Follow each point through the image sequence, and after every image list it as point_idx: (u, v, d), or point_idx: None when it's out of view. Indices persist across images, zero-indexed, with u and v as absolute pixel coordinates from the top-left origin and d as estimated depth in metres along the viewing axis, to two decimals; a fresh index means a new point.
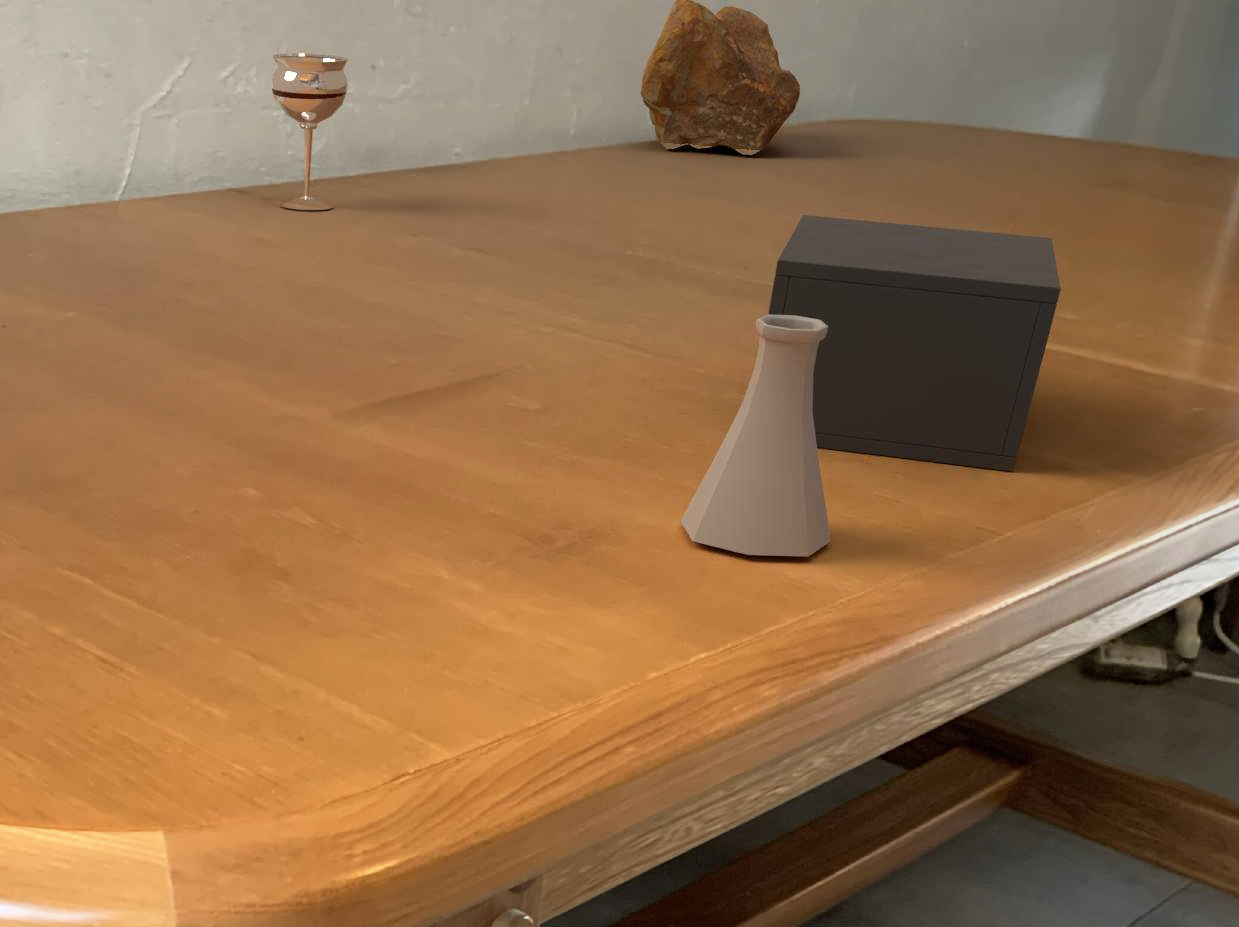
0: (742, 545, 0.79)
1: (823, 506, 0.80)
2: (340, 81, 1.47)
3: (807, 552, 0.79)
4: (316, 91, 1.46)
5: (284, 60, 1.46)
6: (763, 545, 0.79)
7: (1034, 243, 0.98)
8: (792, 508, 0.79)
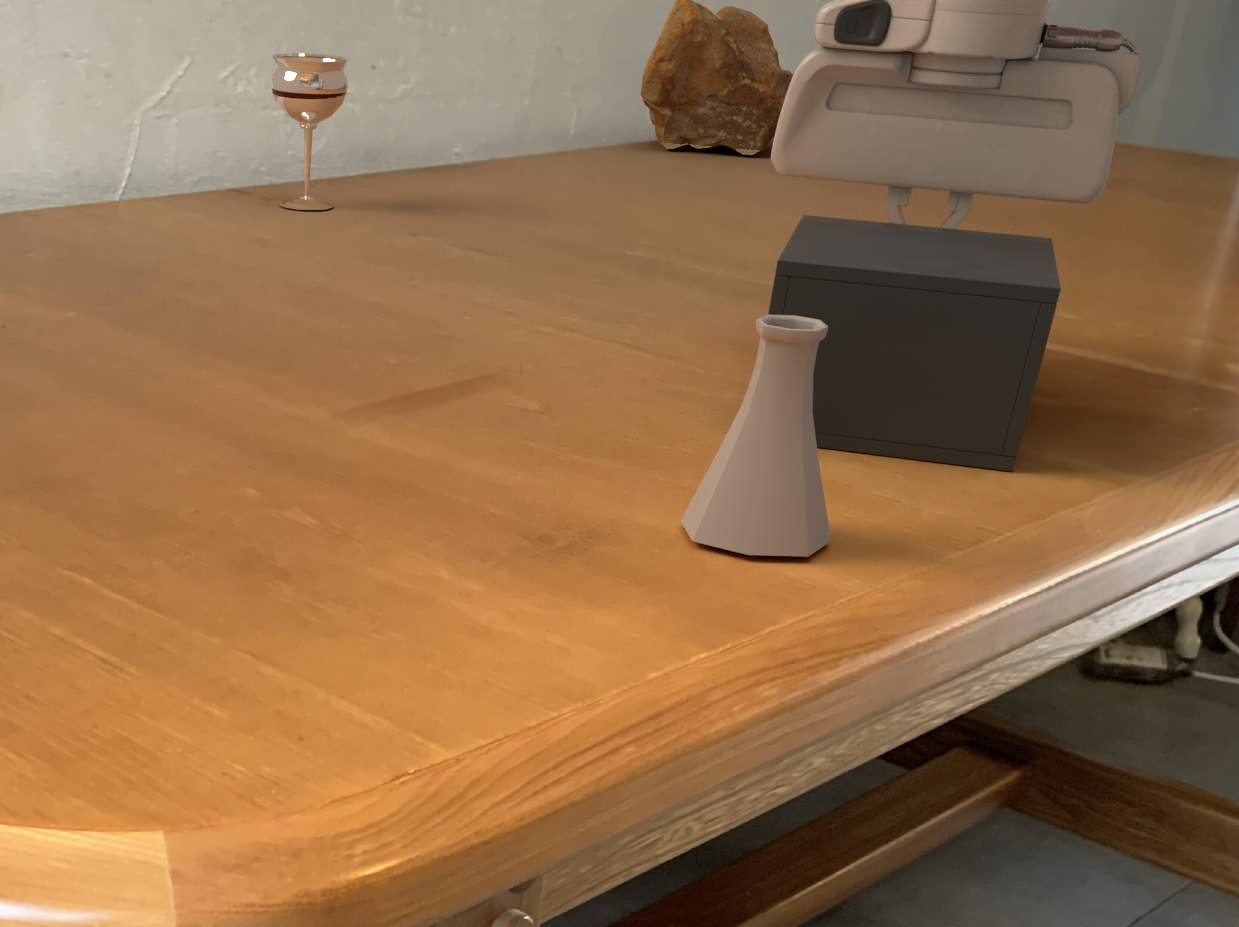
0: (742, 545, 0.79)
1: (823, 506, 0.80)
2: (340, 81, 1.47)
3: (807, 552, 0.79)
4: (316, 91, 1.46)
5: (284, 60, 1.46)
6: (763, 545, 0.79)
7: (1034, 243, 0.98)
8: (792, 508, 0.79)
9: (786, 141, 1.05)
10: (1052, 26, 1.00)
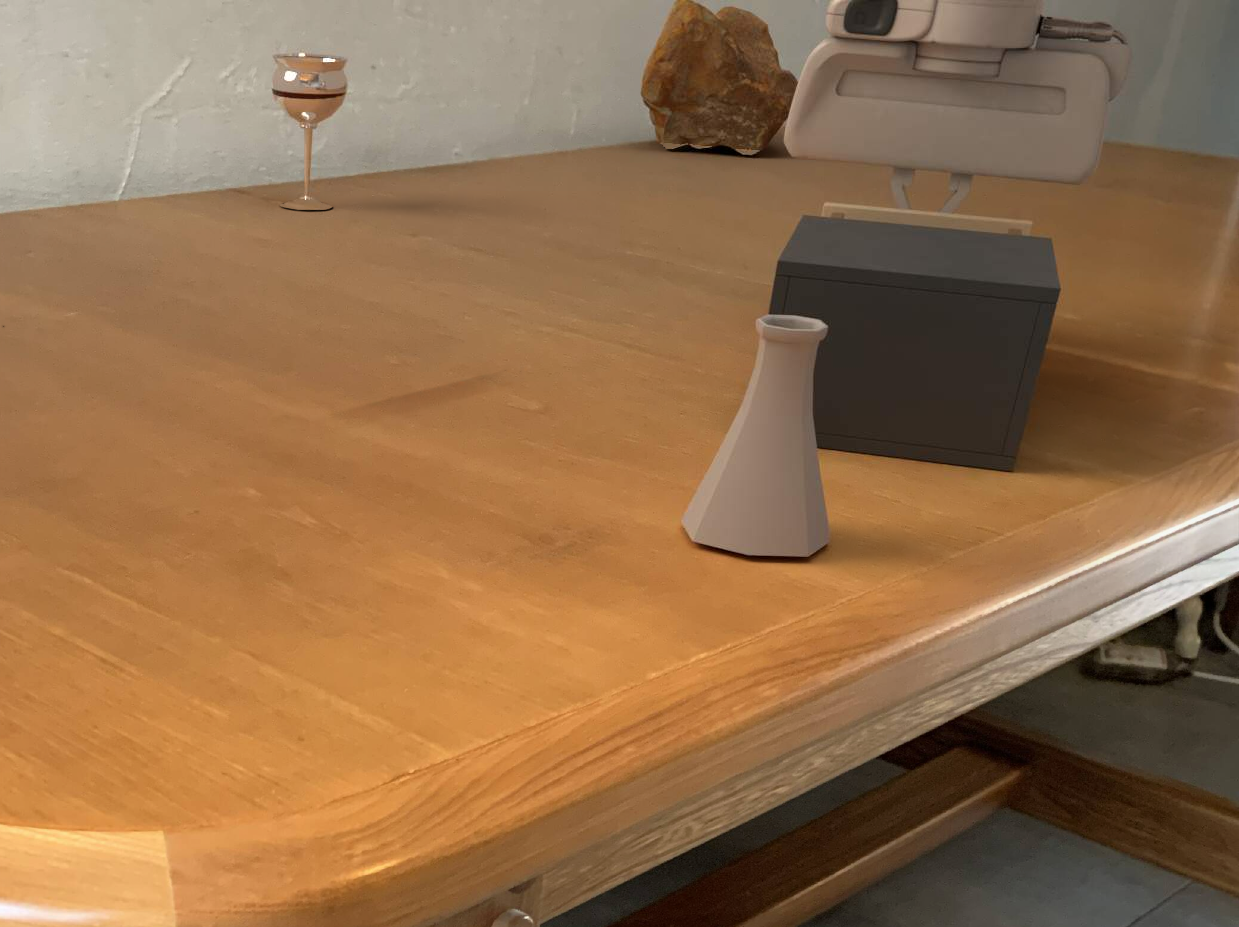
0: (742, 545, 0.79)
1: (823, 506, 0.80)
2: (340, 81, 1.47)
3: (807, 552, 0.79)
4: (316, 91, 1.46)
5: (284, 60, 1.46)
6: (763, 545, 0.79)
7: (1034, 243, 0.98)
8: (792, 508, 0.79)
9: (798, 125, 1.12)
10: (1048, 18, 1.07)
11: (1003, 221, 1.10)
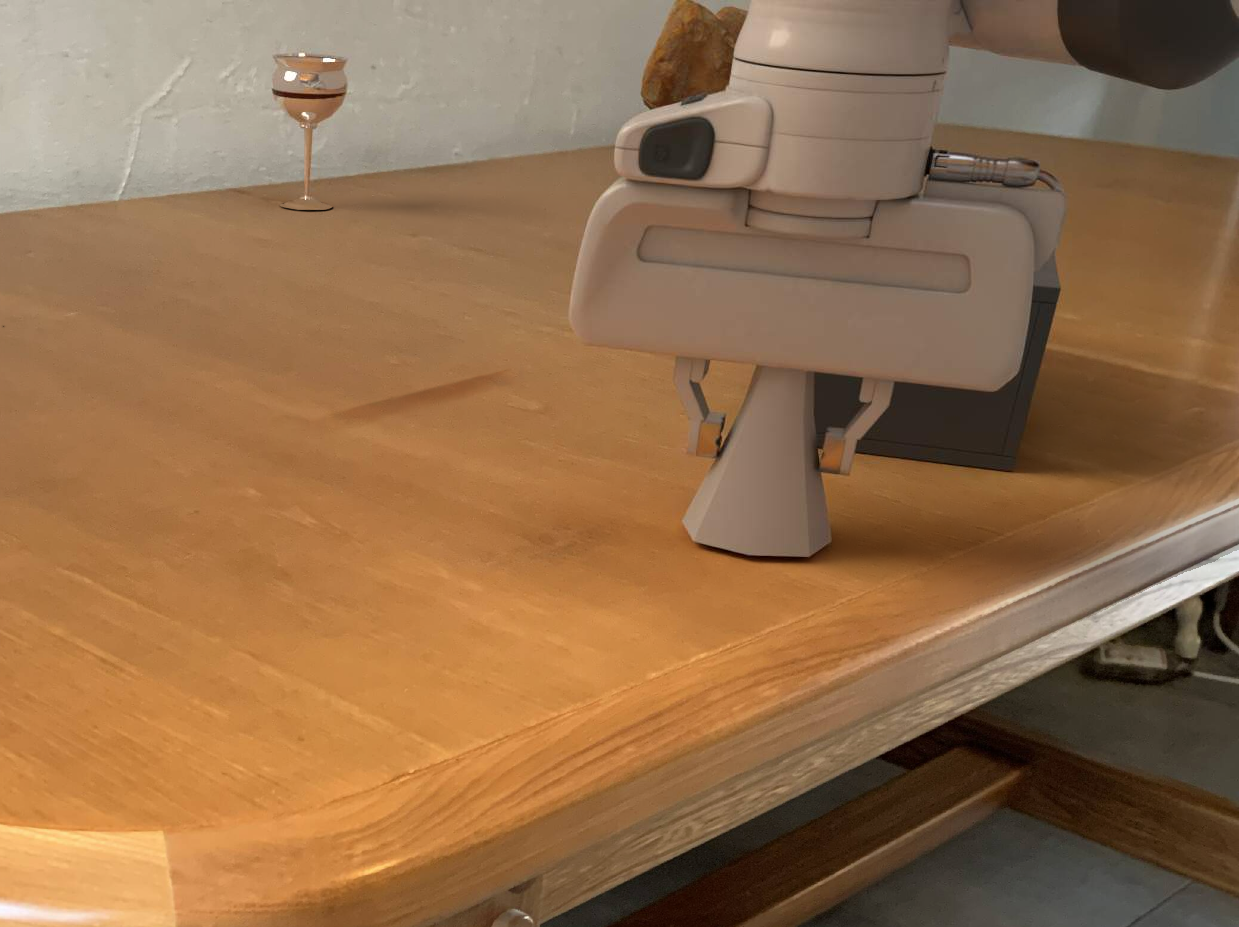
0: (743, 545, 0.79)
1: (824, 506, 0.80)
2: (340, 81, 1.47)
3: (808, 552, 0.79)
4: (316, 91, 1.46)
5: (284, 60, 1.46)
6: (764, 545, 0.79)
7: None
8: (793, 509, 0.79)
9: (586, 302, 0.77)
10: (941, 152, 0.71)
11: None
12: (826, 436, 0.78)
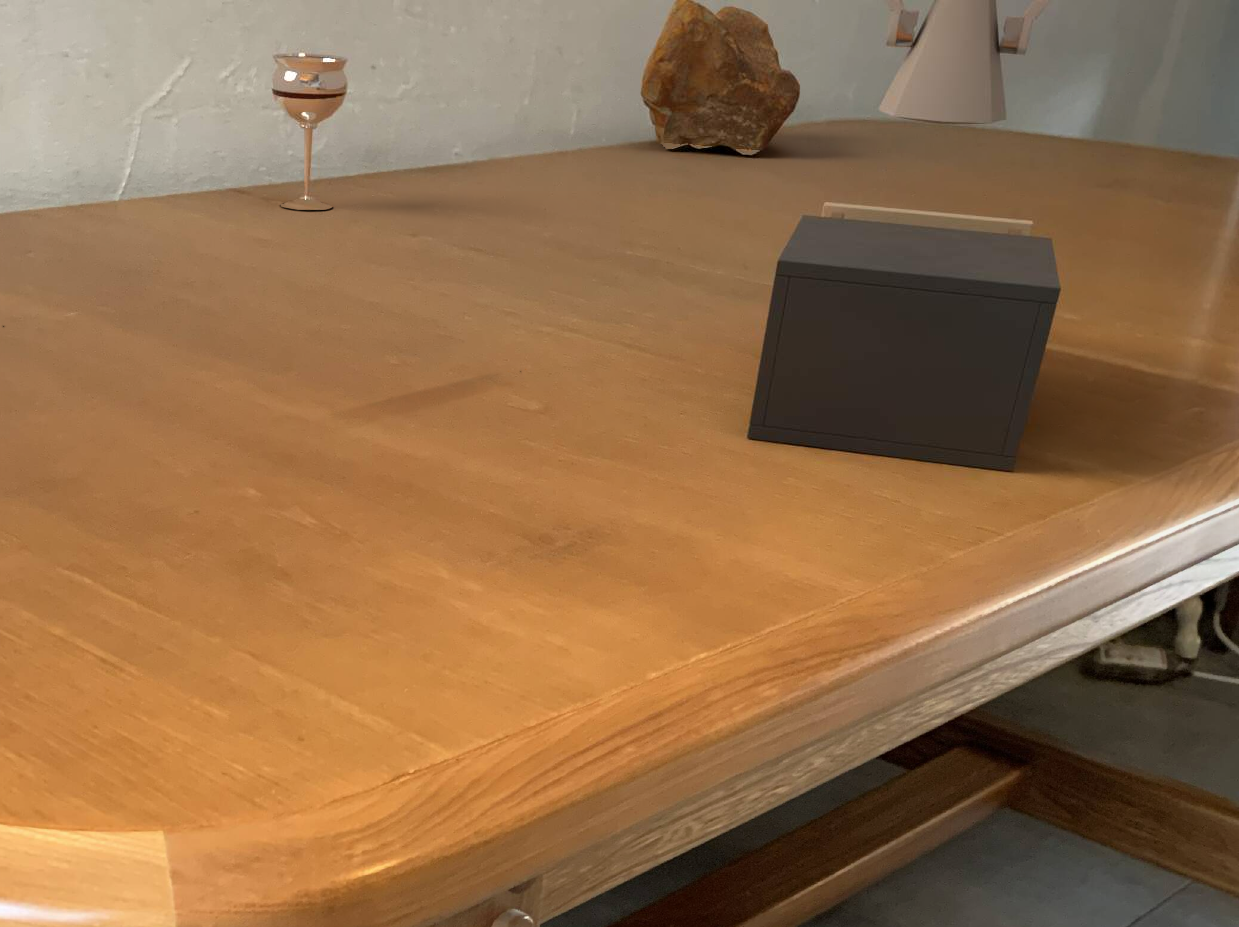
0: (937, 113, 0.96)
1: (1001, 85, 0.97)
2: (340, 81, 1.47)
3: (990, 119, 0.96)
4: (316, 91, 1.46)
5: (284, 60, 1.46)
6: (954, 113, 0.95)
7: (1034, 243, 0.98)
8: (979, 81, 0.95)
9: None
10: None
11: (1003, 221, 1.10)
12: (1007, 18, 0.94)
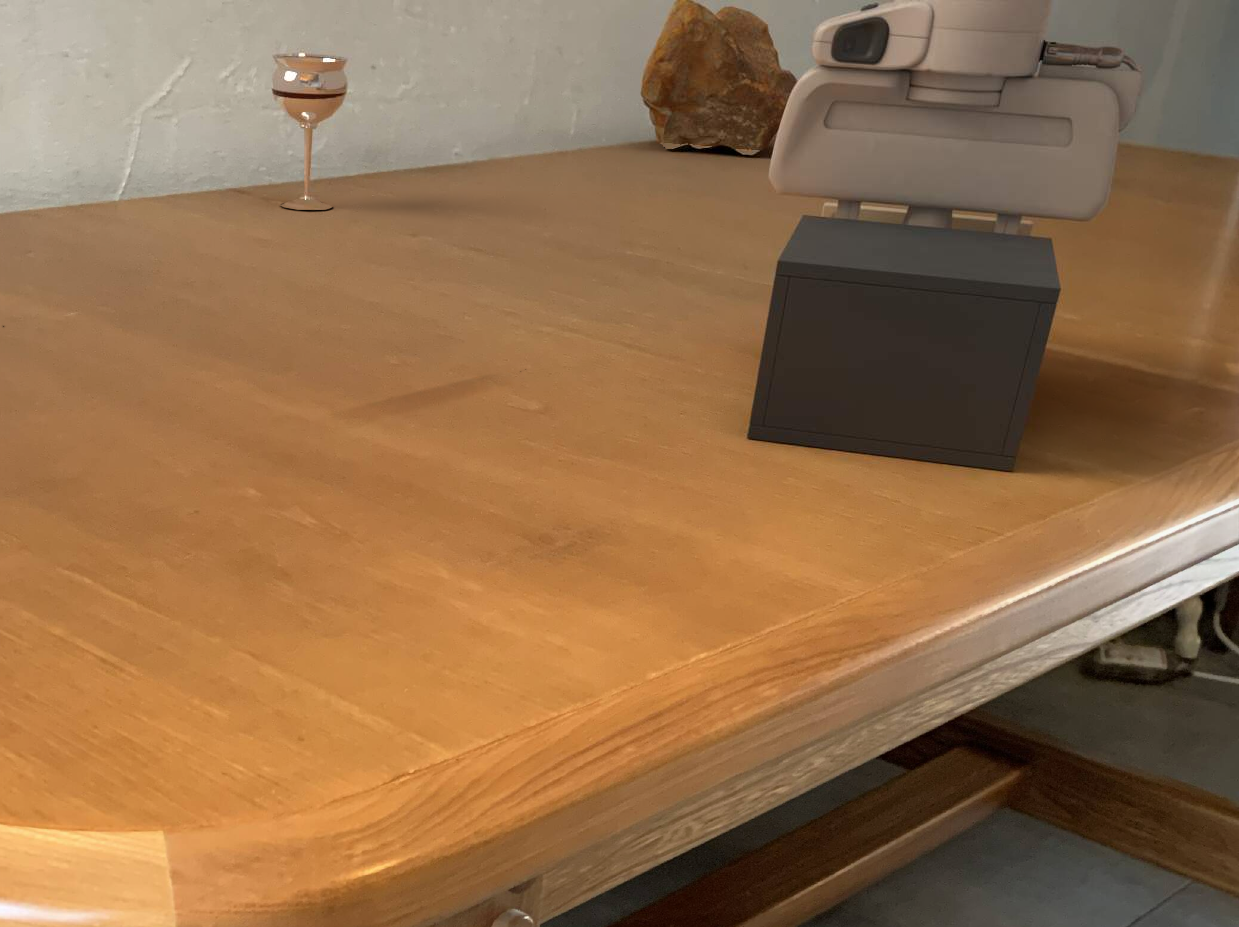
0: None
1: None
2: (340, 81, 1.47)
3: None
4: (316, 91, 1.46)
5: (284, 60, 1.46)
6: None
7: (1034, 243, 0.98)
8: None
9: (784, 160, 1.04)
10: (1052, 43, 0.99)
11: None
12: None
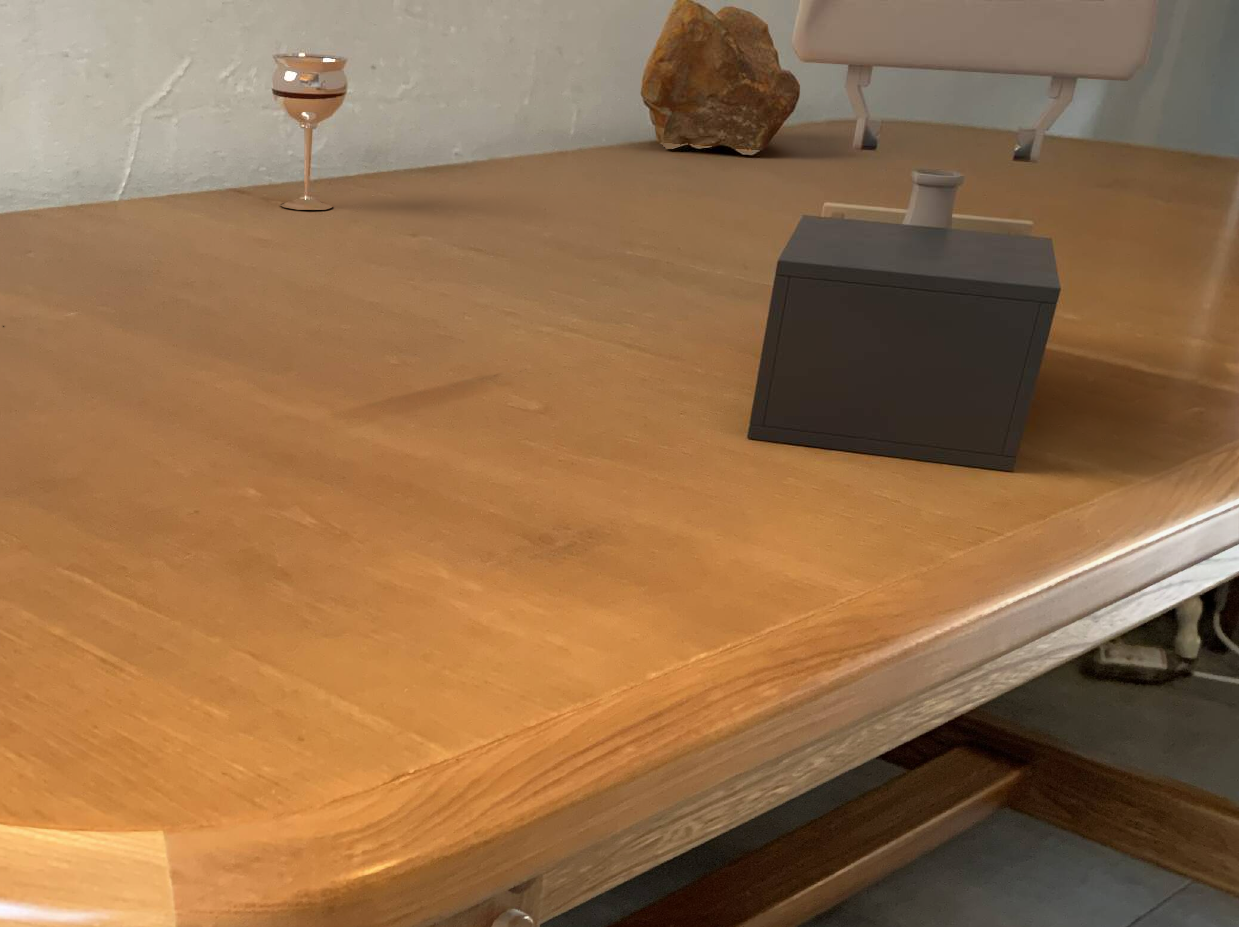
0: None
1: None
2: (340, 81, 1.47)
3: None
4: (316, 91, 1.46)
5: (284, 60, 1.46)
6: None
7: (1034, 243, 0.98)
8: None
9: (808, 24, 1.00)
10: None
11: (1003, 221, 1.10)
12: (1020, 129, 1.01)
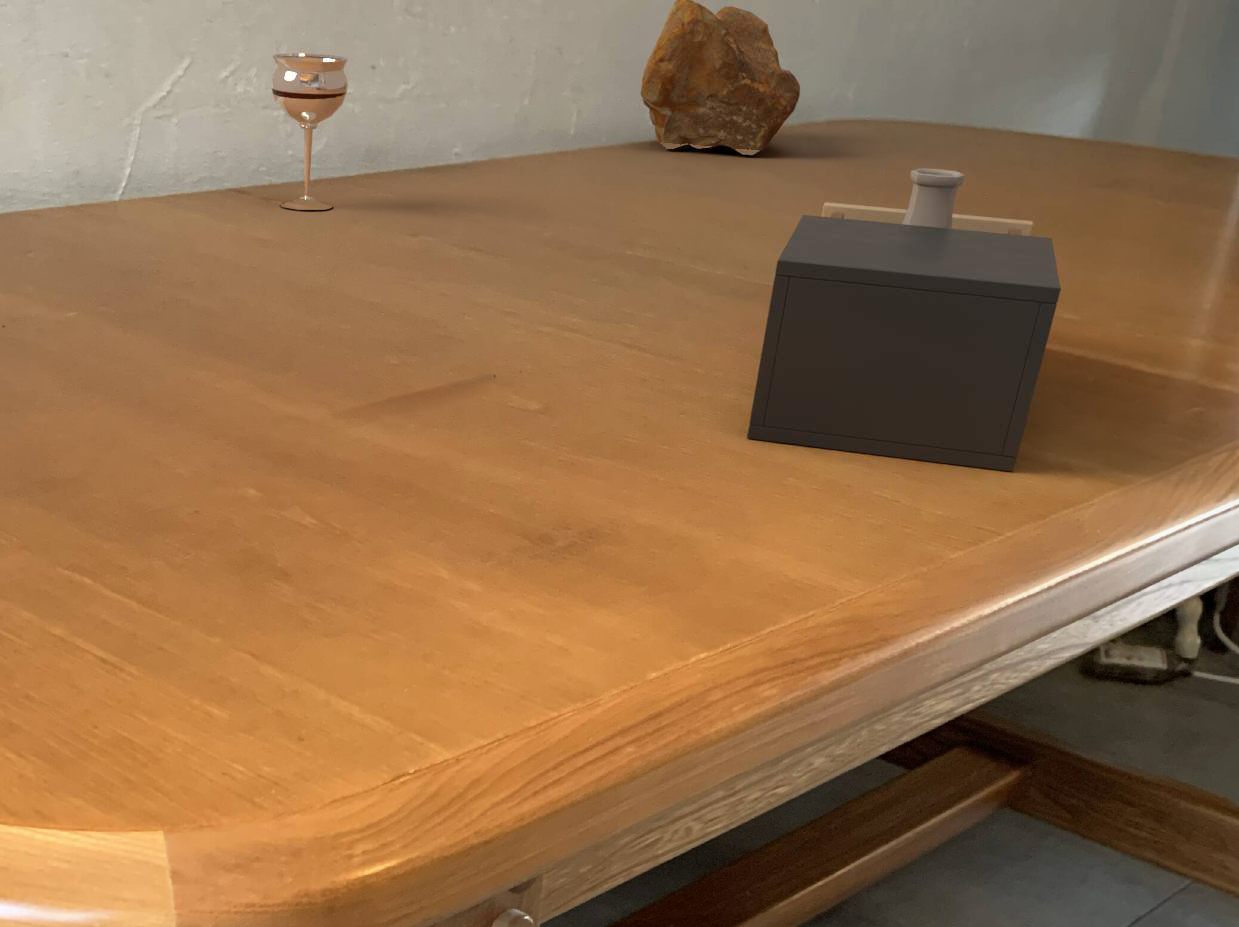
0: None
1: None
2: (340, 81, 1.47)
3: None
4: (316, 91, 1.46)
5: (284, 60, 1.46)
6: None
7: (1034, 243, 0.98)
8: None
9: None
10: None
11: (1003, 221, 1.10)
12: None
